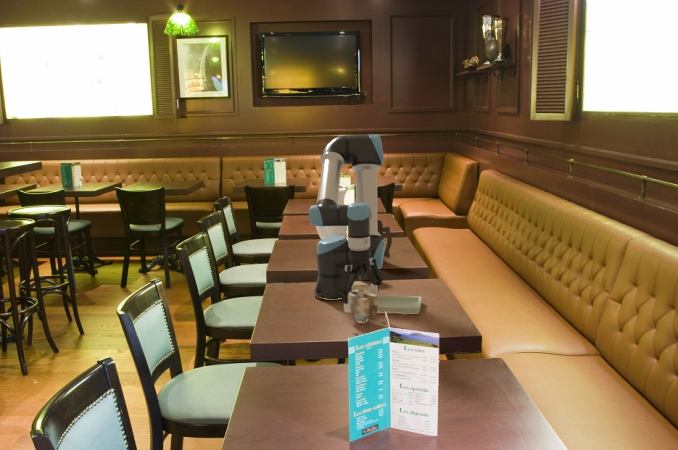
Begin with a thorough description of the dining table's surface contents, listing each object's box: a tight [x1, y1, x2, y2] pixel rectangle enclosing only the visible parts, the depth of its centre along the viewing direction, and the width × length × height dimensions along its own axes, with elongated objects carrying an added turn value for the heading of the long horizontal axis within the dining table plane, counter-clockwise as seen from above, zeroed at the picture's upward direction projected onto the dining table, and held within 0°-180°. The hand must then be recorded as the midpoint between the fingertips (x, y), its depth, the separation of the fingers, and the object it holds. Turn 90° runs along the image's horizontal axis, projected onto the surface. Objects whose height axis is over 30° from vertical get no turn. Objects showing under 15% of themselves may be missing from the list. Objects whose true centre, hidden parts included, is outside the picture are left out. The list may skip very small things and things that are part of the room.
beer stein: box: [377, 219, 393, 262], centre depth 298 cm, size 15×11×20 cm
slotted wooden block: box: [349, 290, 379, 317], centre depth 224 cm, size 12×6×6 cm, turn 44°
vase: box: [315, 187, 348, 240], centre depth 332 cm, size 19×21×30 cm
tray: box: [378, 294, 423, 315], centre depth 238 cm, size 17×13×3 cm
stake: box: [352, 284, 370, 322], centre depth 224 cm, size 6×4×13 cm
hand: (361, 307), depth 224 cm, fingers open, 13 cm apart
